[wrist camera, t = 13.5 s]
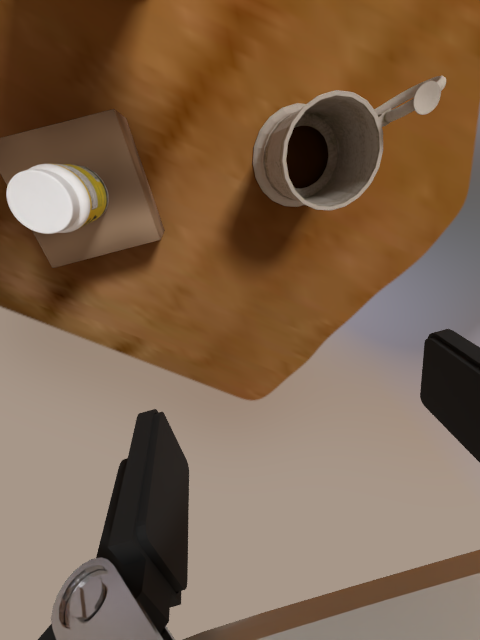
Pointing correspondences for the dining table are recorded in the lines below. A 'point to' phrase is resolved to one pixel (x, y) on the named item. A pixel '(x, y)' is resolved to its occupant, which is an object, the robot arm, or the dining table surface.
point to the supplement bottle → (56, 197)
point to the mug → (335, 143)
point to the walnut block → (109, 164)
